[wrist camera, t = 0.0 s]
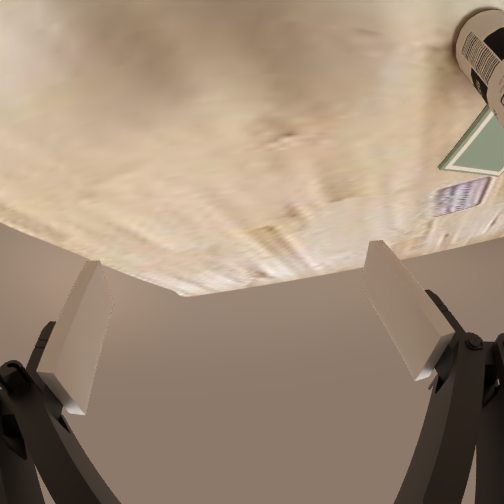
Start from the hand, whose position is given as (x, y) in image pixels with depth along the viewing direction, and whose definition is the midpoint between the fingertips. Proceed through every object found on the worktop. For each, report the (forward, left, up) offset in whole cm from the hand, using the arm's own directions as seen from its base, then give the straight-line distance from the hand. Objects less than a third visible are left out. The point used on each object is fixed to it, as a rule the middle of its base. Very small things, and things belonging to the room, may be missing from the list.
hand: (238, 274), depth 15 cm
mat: (+4, +34, -15) cm, 37 cm away
